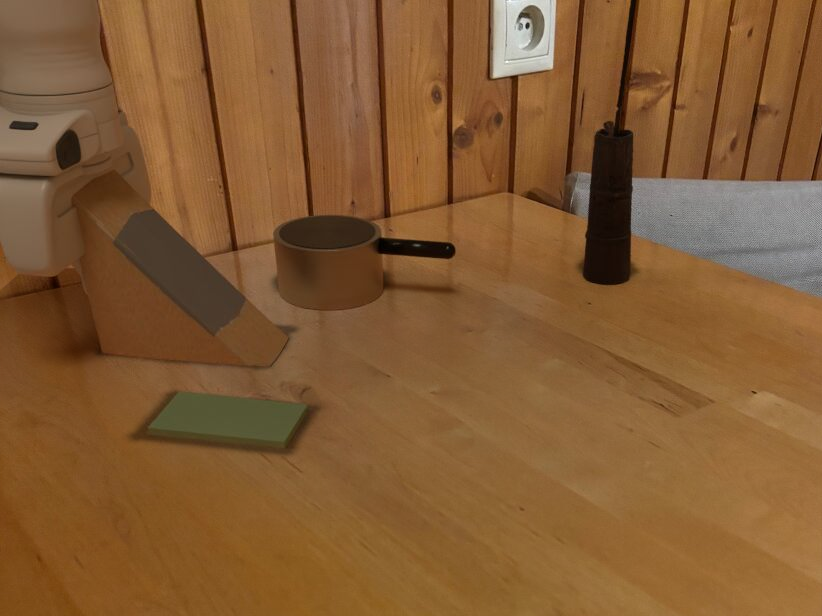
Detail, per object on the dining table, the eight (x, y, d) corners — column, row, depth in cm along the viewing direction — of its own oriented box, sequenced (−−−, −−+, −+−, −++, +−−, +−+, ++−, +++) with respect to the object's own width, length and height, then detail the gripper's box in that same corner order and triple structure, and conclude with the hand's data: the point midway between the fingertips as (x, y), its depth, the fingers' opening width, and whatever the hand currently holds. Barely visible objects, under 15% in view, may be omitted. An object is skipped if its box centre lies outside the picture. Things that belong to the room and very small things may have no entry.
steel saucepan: (265, 305, 96) (258, 245, 92) (297, 267, 104) (292, 210, 100) (445, 320, 94) (445, 259, 90) (463, 280, 102) (464, 223, 98)
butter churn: (563, 254, 108) (589, -37, 91) (646, 261, 107) (689, -33, 89) (554, 283, 101) (580, -26, 84) (643, 291, 100) (688, -21, 82)
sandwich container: (263, 377, 84) (241, 203, 74) (101, 363, 85) (60, 190, 76) (292, 337, 90) (275, 172, 80) (141, 324, 92) (107, 161, 82)
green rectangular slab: (139, 446, 74) (135, 430, 73) (174, 405, 79) (171, 389, 78) (285, 462, 73) (283, 445, 72) (311, 419, 78) (309, 402, 77)
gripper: (87, 94, 85) (118, 248, 94) (-42, 153, 69) (11, 331, 78) (152, 98, 84) (178, 252, 93) (37, 159, 69) (82, 338, 77)
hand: (101, 289), depth 85 cm, fingers closed
